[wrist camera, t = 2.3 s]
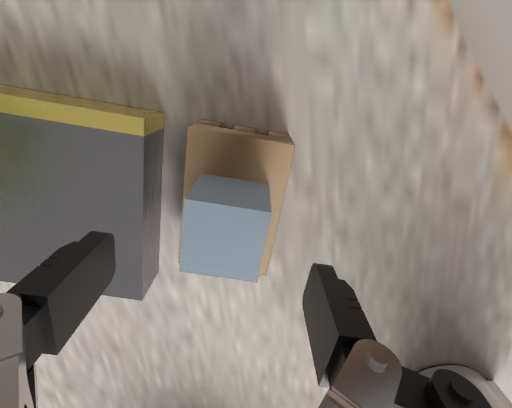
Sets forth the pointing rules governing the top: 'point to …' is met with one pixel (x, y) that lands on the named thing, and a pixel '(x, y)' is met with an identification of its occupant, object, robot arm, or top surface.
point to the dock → (79, 183)
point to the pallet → (240, 164)
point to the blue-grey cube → (225, 227)
